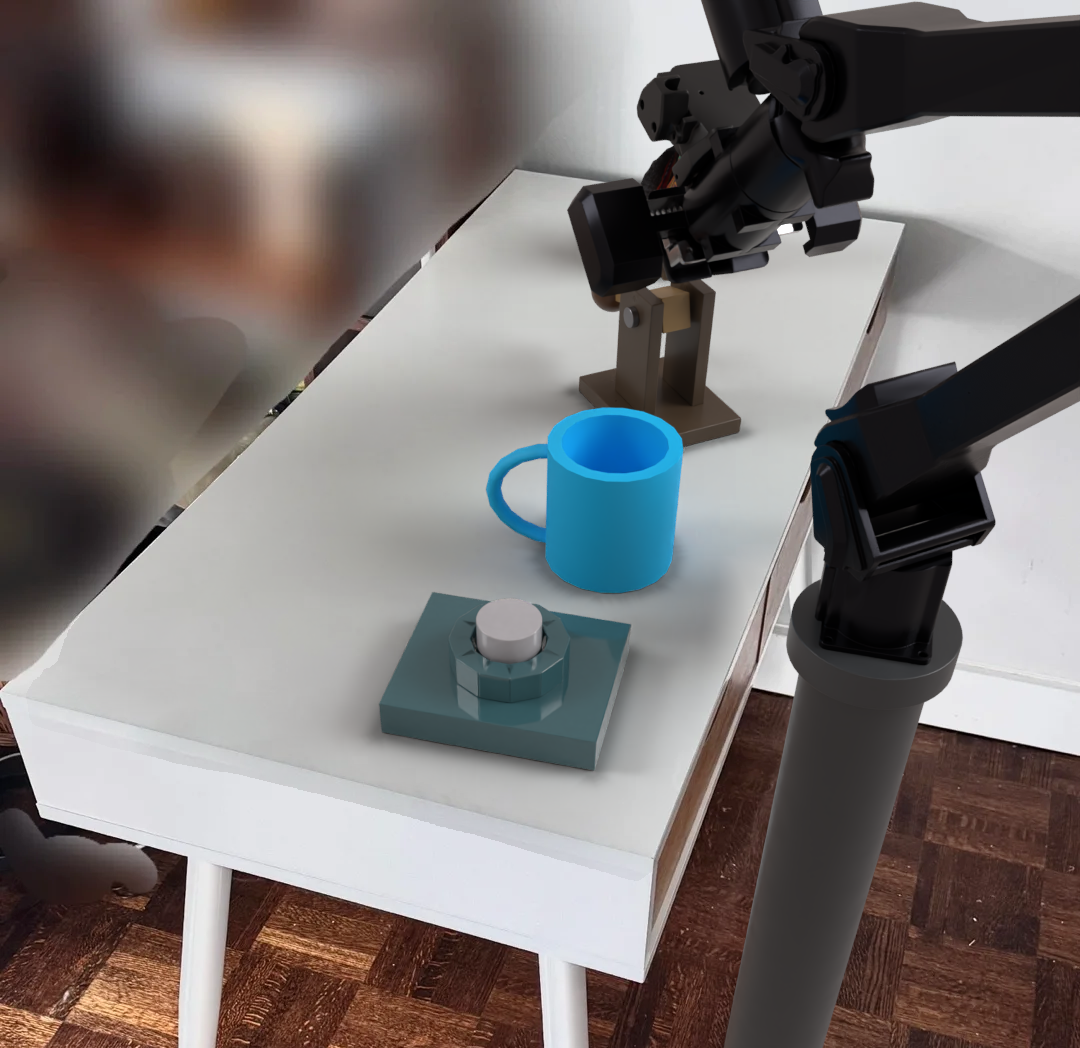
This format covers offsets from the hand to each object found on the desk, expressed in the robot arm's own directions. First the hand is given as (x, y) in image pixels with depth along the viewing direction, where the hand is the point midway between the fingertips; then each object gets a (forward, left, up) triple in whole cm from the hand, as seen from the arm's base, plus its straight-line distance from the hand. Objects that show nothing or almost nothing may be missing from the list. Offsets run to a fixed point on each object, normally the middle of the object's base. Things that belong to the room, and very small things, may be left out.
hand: (665, 272), depth 91 cm
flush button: (+3, +32, -7) cm, 33 cm away
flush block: (+3, +32, -11) cm, 34 cm away
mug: (+2, +18, -11) cm, 21 cm away
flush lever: (+2, -3, -5) cm, 6 cm away
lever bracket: (0, 0, -11) cm, 11 cm away
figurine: (+2, -25, -11) cm, 27 cm away
